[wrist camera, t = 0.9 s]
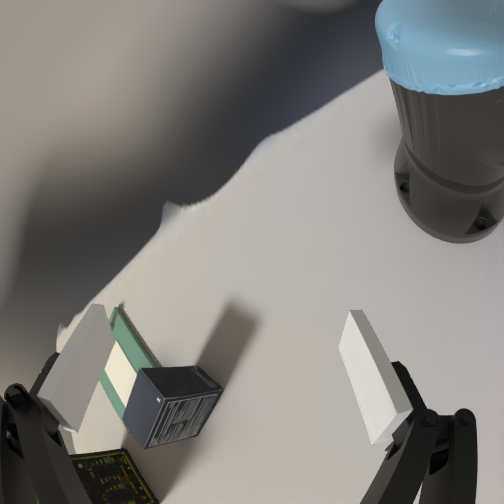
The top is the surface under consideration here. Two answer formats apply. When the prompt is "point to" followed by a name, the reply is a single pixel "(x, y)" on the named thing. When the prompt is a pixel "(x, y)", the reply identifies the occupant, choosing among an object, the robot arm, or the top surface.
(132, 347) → the green header board
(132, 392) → the small box
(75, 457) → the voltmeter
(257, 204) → the top surface
